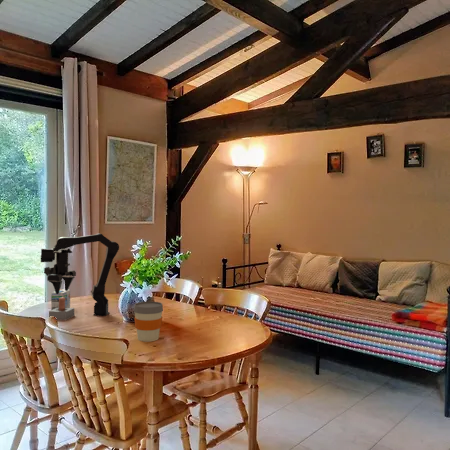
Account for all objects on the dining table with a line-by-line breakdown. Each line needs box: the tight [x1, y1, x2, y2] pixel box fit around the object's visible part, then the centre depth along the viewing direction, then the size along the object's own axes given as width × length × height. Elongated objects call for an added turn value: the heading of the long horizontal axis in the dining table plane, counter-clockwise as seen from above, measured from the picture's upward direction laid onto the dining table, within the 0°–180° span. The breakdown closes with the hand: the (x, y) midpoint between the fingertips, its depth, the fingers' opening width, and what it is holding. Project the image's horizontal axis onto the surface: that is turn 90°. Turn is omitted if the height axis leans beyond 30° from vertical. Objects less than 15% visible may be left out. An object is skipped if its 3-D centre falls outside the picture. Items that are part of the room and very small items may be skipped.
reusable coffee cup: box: [133, 301, 164, 343], centre depth 190 cm, size 13×13×15 cm
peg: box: [59, 297, 65, 311], centre depth 223 cm, size 3×3×10 cm
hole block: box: [48, 307, 75, 321], centre depth 223 cm, size 9×9×4 cm
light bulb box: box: [50, 288, 71, 310], centre depth 238 cm, size 11×7×11 cm, turn 179°
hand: (61, 292), depth 223 cm, fingers open, 9 cm apart
